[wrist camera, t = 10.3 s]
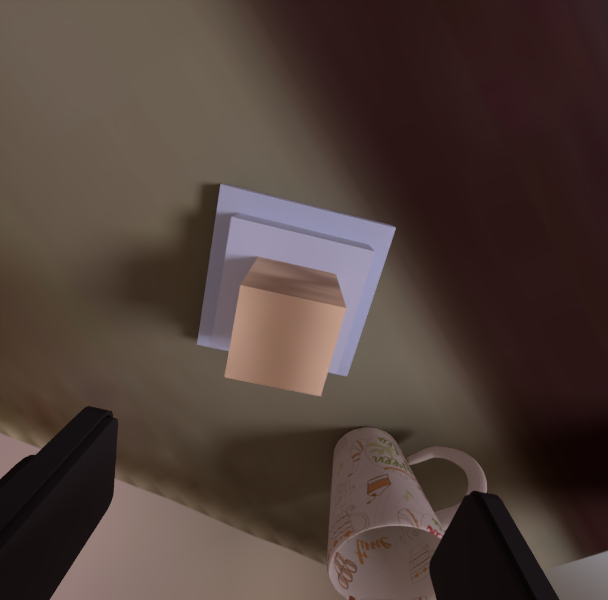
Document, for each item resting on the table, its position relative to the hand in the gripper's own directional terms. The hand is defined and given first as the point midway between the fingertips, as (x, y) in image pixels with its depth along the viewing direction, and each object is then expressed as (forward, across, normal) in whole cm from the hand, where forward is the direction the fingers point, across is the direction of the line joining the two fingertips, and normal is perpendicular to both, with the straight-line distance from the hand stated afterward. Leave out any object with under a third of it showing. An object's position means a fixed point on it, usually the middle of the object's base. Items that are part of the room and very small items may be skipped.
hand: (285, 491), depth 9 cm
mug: (+19, -11, +13) cm, 25 cm away
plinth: (+18, +1, 0) cm, 18 cm away
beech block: (+14, +1, 0) cm, 14 cm away
